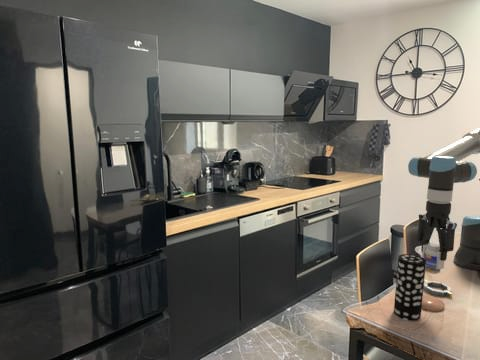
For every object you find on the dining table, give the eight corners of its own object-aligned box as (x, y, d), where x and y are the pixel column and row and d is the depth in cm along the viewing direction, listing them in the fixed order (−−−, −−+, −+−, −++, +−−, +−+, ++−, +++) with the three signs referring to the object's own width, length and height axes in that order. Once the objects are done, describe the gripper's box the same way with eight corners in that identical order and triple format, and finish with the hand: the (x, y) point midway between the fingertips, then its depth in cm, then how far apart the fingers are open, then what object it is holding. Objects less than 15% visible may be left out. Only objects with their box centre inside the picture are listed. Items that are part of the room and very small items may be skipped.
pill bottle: (421, 271, 124) (424, 245, 122) (424, 266, 128) (427, 241, 126) (438, 275, 120) (441, 248, 119) (441, 270, 125) (444, 244, 123)
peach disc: (427, 295, 132) (427, 292, 132) (451, 308, 123) (451, 305, 123) (406, 299, 129) (407, 297, 129) (429, 313, 120) (429, 310, 120)
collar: (432, 281, 144) (432, 278, 144) (459, 295, 132) (460, 291, 132) (415, 285, 141) (415, 281, 140) (441, 299, 129) (442, 295, 129)
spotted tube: (419, 323, 113) (425, 265, 110) (391, 316, 118) (396, 260, 114) (421, 312, 120) (427, 257, 117) (395, 305, 125) (400, 252, 121)
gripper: (472, 206, 113) (464, 274, 116) (425, 195, 130) (419, 254, 134) (455, 208, 110) (447, 277, 114) (409, 196, 127) (404, 257, 131)
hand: (432, 265), depth 124 cm, fingers closed on pill bottle, 5 cm apart
